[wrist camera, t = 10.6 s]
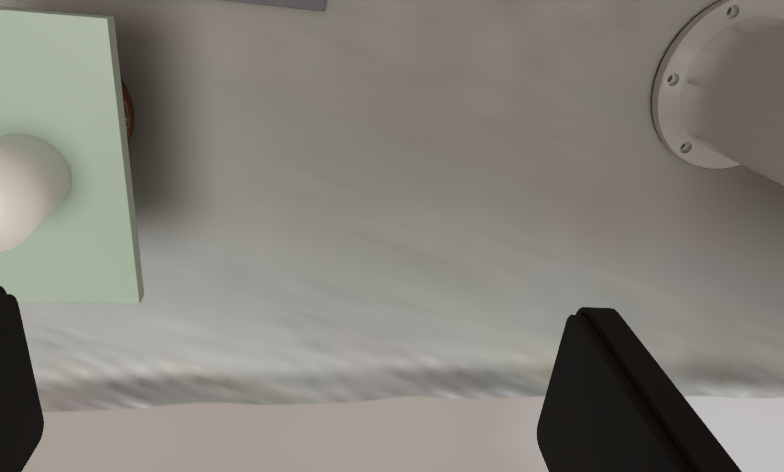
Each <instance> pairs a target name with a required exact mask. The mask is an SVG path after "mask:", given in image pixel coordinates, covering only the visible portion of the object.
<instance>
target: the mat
mask: <svg viewBox="0 0 784 472" xmlns="http://www.w3.org/2000/svg"><path fill="white" fill-rule="evenodd" d="M226 1H236V2H245V3H254V4H263V5H273V6H282V7H291V8H301V9H310V10H319V11H324V9H325V0H226Z"/></svg>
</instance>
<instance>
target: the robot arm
mask: <svg viewBox="0 0 784 472" xmlns="http://www.w3.org/2000/svg"><path fill="white" fill-rule="evenodd" d="M668 77H669V78H668ZM667 79H668V80H667ZM652 115H653V120H654V124H655V128H656V130H657V133H658V135H659V137H660V139H661V141H662V142H663V143H664V144H665V146H666V147H667V148H668V149H669V151H671V152H672V153H673V154H675V155H676V156H677V157H679V158H680V159H682V160H684V161H686V162H688V163H690V164H692V165H695V166H698V167H702V168H707V169H725V168H733V167H736V166H739V165H743V166H745V167H747V168H749V169H751V170H753V171H755V172H757V173H759V174H761V175H763V176H765V177H767V178H769V179H771V180H773V181H775V182H777V183H779V184H781V185H783V186H784V0H721V1H719V2H717V3H715V4H713V5H711V6H710V7H708V8H707V9H706V10H704V11H703V12H702V13H700V14H699V15H698V16H696V17H695V18H694V19H693V20H692V21H691V22H690V23H689V24H688V25H687V26H686V27H685V28H684V29H683V30H682V31H681V32H680V34H679V35H678V36H677V38H676V39H675V40H674V42H673V43H672V44H671V46H670V47H669V49H668V51H667V53H666V55H665V57H664V59H663V60H662V62H661V64H660V67H659V70H658V73H657V76H656V79H655V83H654V89H653V94H652ZM43 427H44V421H43V415H42V410H41V406H40V401H39V396H38V392H37V387H36V383H35V378H34V374H33V369H32V365H31V360H30V356H29V351H28V347H27V342H26V337H25V333H24V328H23V324H22V319H21V315H20V310H19V306H18V302H17V299H16V298H15V296H14V295H11V294H7V293H6V291H5V289H4V288H3V287H2V286H0V472H21V471H22V470H23V468H24V466H25V465H26V463H27V461H28V460H29V458H30V457H31V455H32V453H33V452H34V450H35V448H36V447H37V445H38V443H39V441H40V439H41V436H42V432H43ZM537 441H538V445H539V448H540V451H541V453H542V455H543V458H544V460H545V463H546V465H547V468H548V470H549V472H741V471H740V469H739V468H738V466H737V465H736V464H735V463H734V461H733V460H732V459H731V457H730V456H729V455H728V454H727V452H726V451H725V450H724V448H723V447H722V446H721V444H720V443H719V442H718V441H717V439H716V438H715V437H714V436H713V434H712V433H711V432H710V431H709V429H708V428H707V426H706V425H705V424H704V423H703V421H702V420H701V419H700V418H699V416H698V415H697V414H696V412H695V411H694V410H693V408H692V407H691V406H690V405H689V403H688V402H687V401H686V399H685V398H684V397H683V396H682V394H681V393H680V392H679V390H678V389H677V388H676V387H675V385H674V384H673V383H672V381H671V380H670V379H669V378H668V376H667V375H666V374H665V372H664V371H663V370H662V369H661V367H660V366H659V365H658V363H657V362H656V361H655V360H654V358H653V357H652V356H651V354H650V353H649V352H648V351H647V349H646V348H645V347H644V345H643V344H642V343H641V342H640V340H639V339H638V338H637V336H636V335H635V334H634V333H633V331H632V330H631V329H630V327H629V326H628V325H627V323H626V322H625V321H624V320H623V318H622V317H621V316H620V314H619V313H618V312H617V311H616V310H615V309H611V308H589V307H582V308H580V309H579V310H578V312H577V313H576V315H570V316H569V317H568V319H567V322H566V325H565V328H564V332H563V336H562V339H561V343H560V346H559V350H558V354H557V357H556V361H555V364H554V368H553V372H552V375H551V379H550V382H549V386H548V390H547V393H546V397H545V400H544V404H543V408H542V411H541V415H540V419H539V422H538V426H537Z"/></svg>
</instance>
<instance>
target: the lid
mask: <svg viewBox="0 0 784 472" xmlns="http://www.w3.org/2000/svg"><path fill="white" fill-rule="evenodd" d="M0 286H2V287H3V288H4V289H5V291H6V293H7V294H11V295H14V296H15V298H16V299H17V302H18V303H71V304H140V302H141V300H142V298H143V296H144V288H143V279H142V270H141V261H140V251H139V242H138V233H137V224H136V215H135V205H134V196H133V187H132V178H131V169H130V159H129V150H128V141H127V132H126V123H125V113H124V104H123V95H122V86H121V77H120V68H119V58H118V49H117V40H116V31H115V22H114V16H104V15H92V14H81V13H69V12H57V11H45V10H33V9H21V8H9V7H0Z"/></svg>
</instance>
